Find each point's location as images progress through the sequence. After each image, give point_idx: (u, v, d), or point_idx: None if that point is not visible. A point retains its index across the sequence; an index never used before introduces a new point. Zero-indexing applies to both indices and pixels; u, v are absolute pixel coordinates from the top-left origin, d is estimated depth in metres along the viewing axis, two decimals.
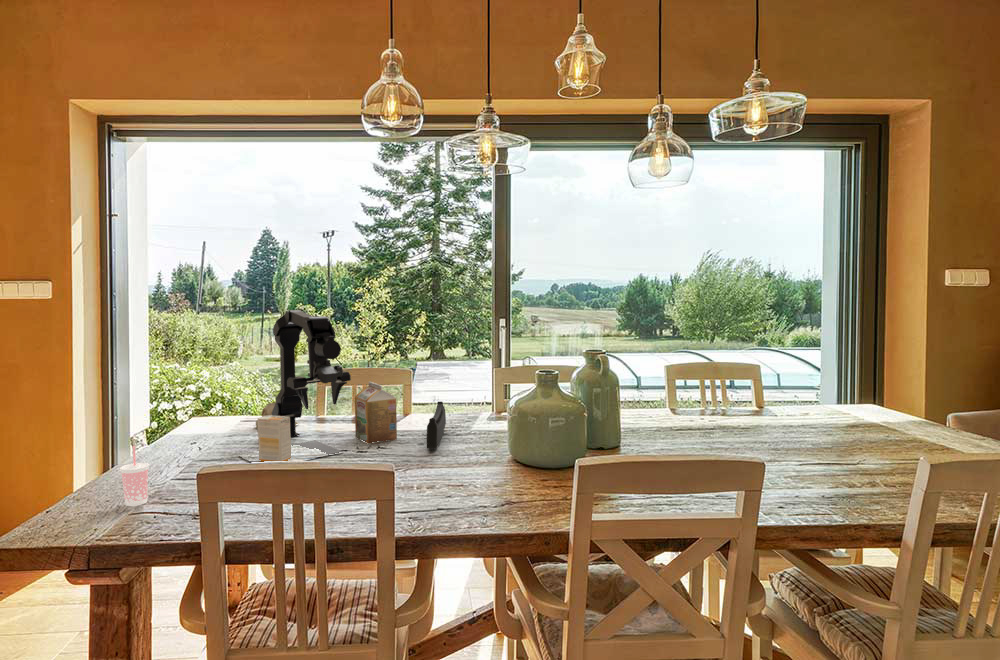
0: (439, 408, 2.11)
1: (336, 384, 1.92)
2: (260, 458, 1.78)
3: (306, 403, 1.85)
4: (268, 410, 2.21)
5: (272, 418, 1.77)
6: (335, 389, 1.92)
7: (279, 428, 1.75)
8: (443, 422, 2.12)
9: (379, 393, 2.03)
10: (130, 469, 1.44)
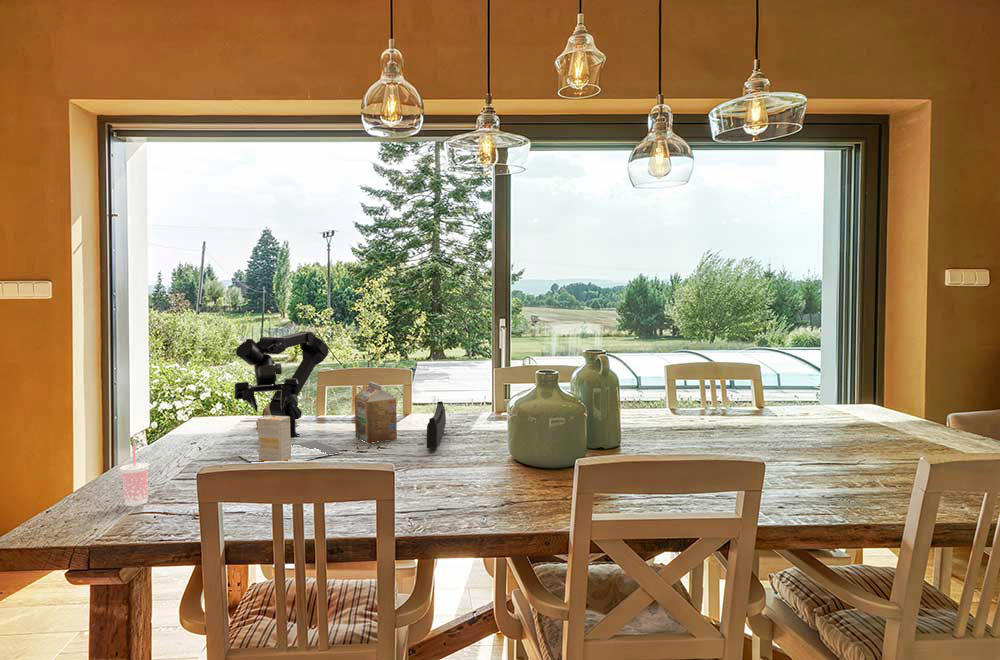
0: (439, 408, 2.11)
1: (281, 390, 1.94)
2: (260, 458, 1.78)
3: (255, 405, 1.87)
4: (269, 410, 2.21)
5: (272, 418, 1.77)
6: (281, 395, 1.93)
7: (279, 428, 1.75)
8: (443, 422, 2.12)
9: (379, 393, 2.03)
10: (130, 469, 1.44)
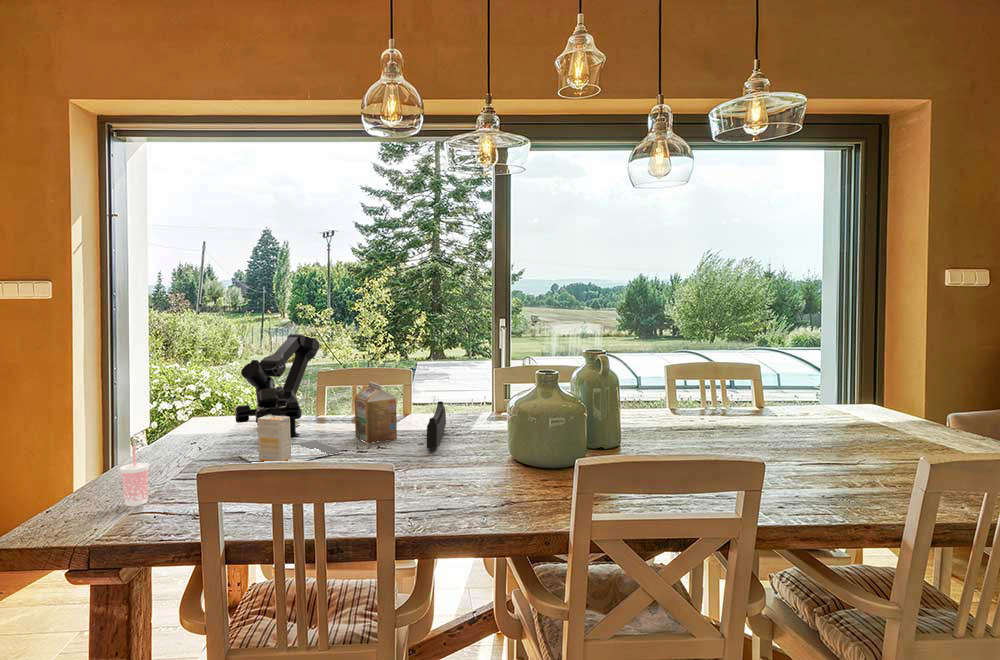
0: (439, 408, 2.11)
1: (271, 414, 1.90)
2: (260, 458, 1.78)
3: None
4: None
5: (272, 418, 1.77)
6: None
7: (279, 428, 1.75)
8: (443, 422, 2.12)
9: (379, 393, 2.03)
10: (130, 469, 1.44)
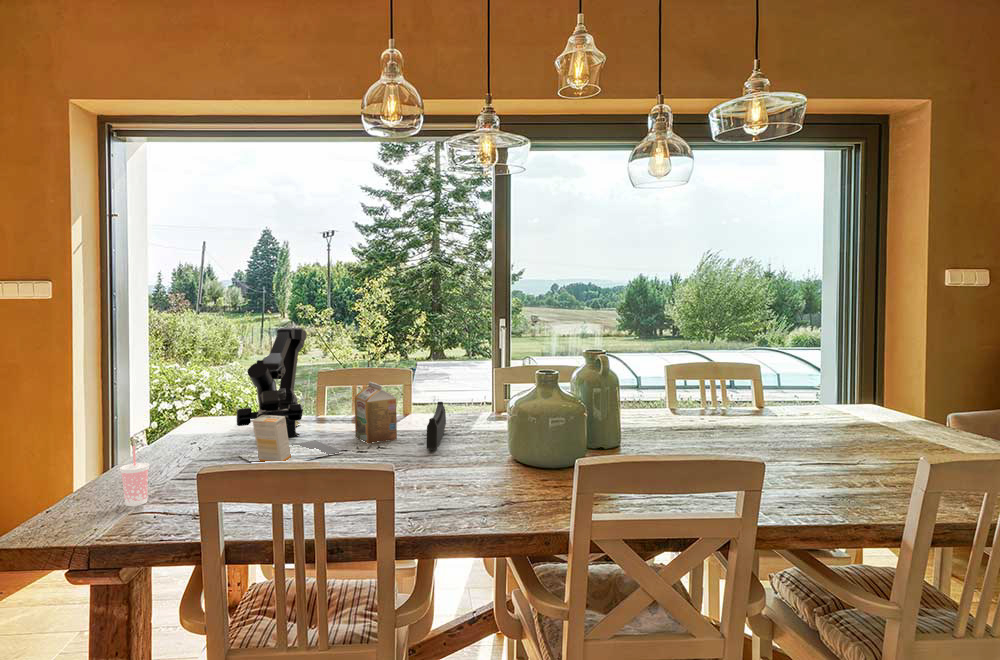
0: (439, 408, 2.11)
1: None
2: (260, 458, 1.78)
3: None
4: None
5: (267, 420, 1.75)
6: None
7: (275, 430, 1.74)
8: (443, 422, 2.12)
9: (379, 393, 2.03)
10: (130, 469, 1.44)
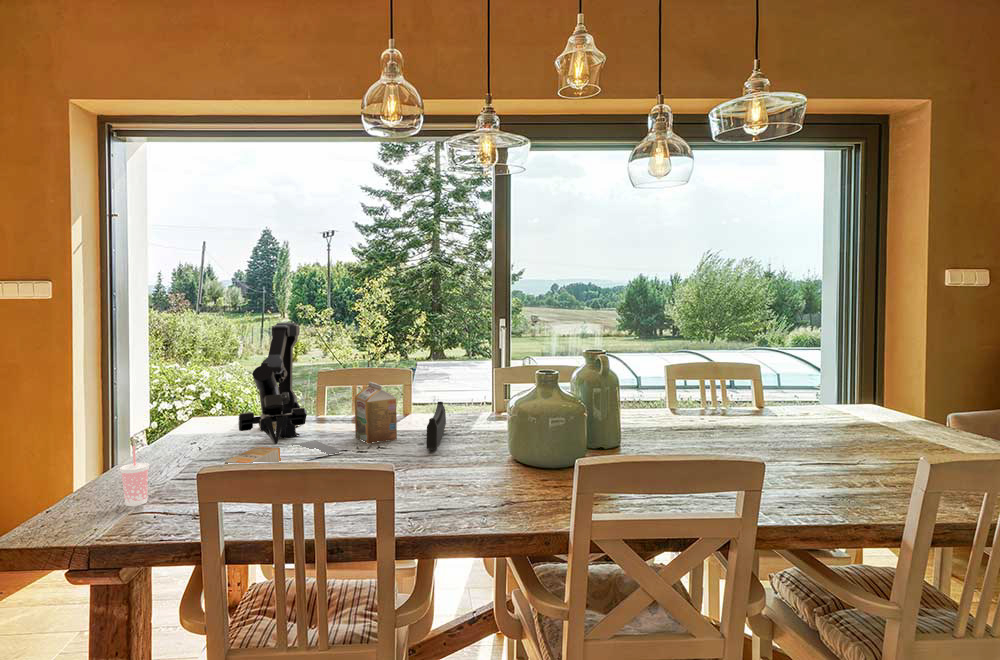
0: (439, 408, 2.11)
1: (276, 422, 1.79)
2: None
3: (273, 436, 1.76)
4: None
5: None
6: (276, 428, 1.79)
7: None
8: (443, 422, 2.12)
9: (379, 393, 2.03)
10: (130, 469, 1.44)
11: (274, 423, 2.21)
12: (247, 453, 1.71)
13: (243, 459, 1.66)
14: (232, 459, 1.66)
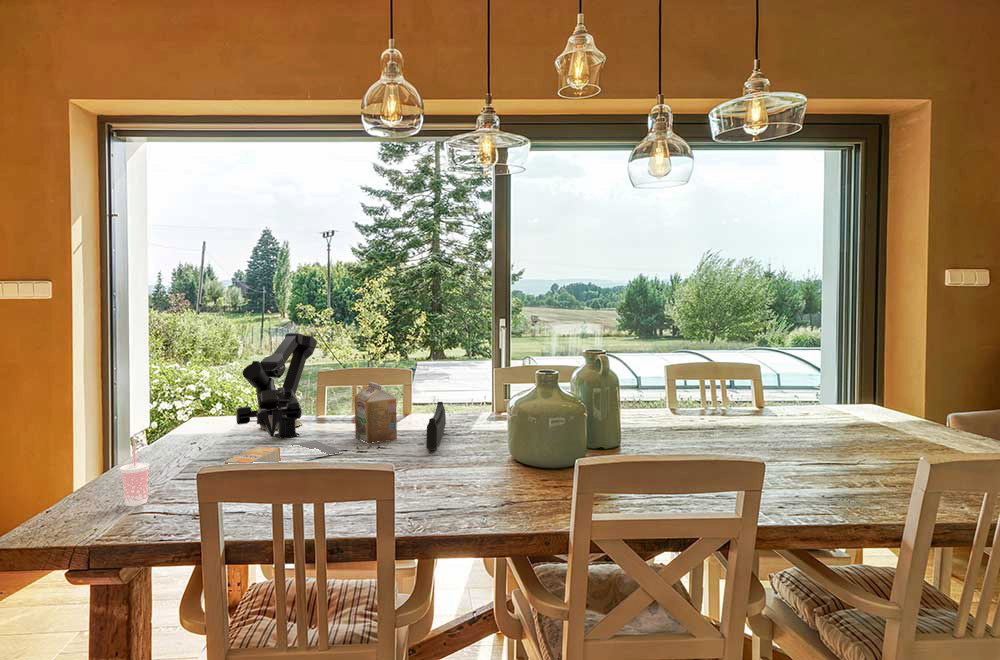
0: (439, 408, 2.11)
1: (272, 416, 1.89)
2: None
3: (269, 429, 1.86)
4: None
5: None
6: (272, 421, 1.89)
7: None
8: (443, 422, 2.12)
9: (379, 393, 2.03)
10: (130, 469, 1.44)
11: None
12: (247, 453, 1.71)
13: (243, 459, 1.66)
14: (232, 459, 1.66)
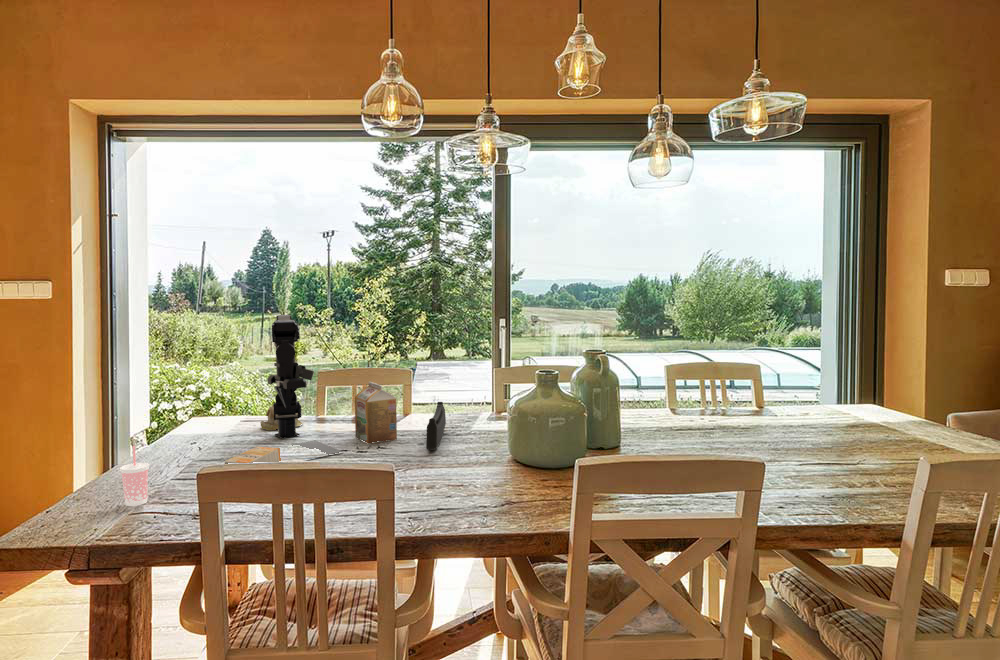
0: (439, 408, 2.11)
1: None
2: None
3: None
4: None
5: None
6: None
7: None
8: (443, 422, 2.12)
9: (379, 393, 2.03)
10: (130, 469, 1.44)
11: (276, 423, 2.21)
12: (247, 453, 1.71)
13: (243, 459, 1.66)
14: (232, 459, 1.66)
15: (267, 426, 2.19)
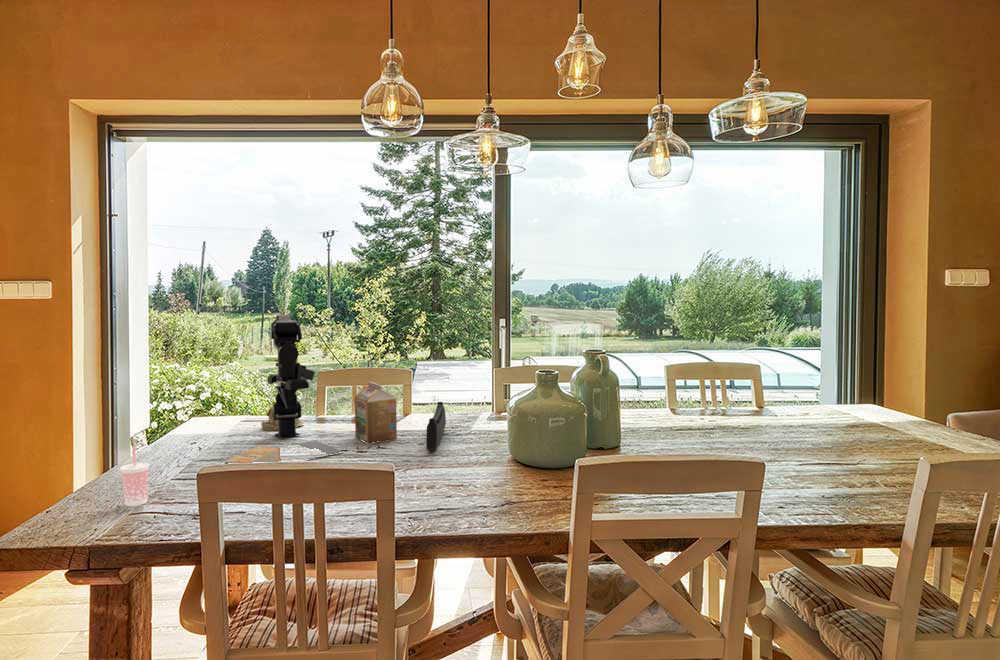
0: (439, 408, 2.11)
1: None
2: None
3: None
4: None
5: None
6: None
7: None
8: (443, 422, 2.12)
9: (379, 393, 2.03)
10: (130, 469, 1.44)
11: (277, 423, 2.21)
12: (247, 453, 1.71)
13: (243, 459, 1.66)
14: (232, 459, 1.66)
15: (269, 426, 2.19)
